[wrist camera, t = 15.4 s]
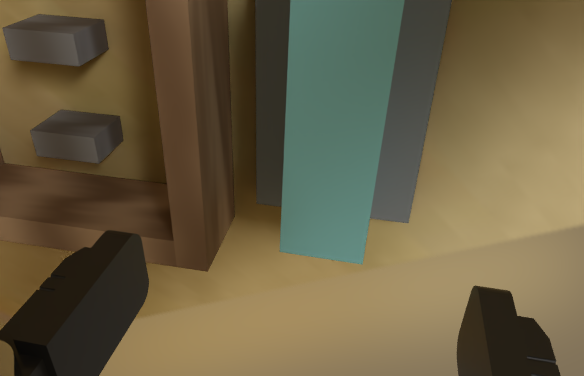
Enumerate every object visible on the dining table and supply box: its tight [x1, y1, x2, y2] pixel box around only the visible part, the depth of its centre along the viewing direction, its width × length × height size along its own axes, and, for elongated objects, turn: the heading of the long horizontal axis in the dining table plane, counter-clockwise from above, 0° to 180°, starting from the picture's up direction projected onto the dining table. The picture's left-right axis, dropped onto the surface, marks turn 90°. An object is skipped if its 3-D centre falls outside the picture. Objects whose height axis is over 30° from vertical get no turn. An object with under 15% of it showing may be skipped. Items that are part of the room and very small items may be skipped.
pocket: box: [0, 0, 235, 271], centre depth 25 cm, size 18×23×5 cm
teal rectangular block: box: [280, 0, 405, 264], centre depth 23 cm, size 4×14×5 cm, turn 177°
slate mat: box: [255, 0, 452, 223], centre depth 25 cm, size 9×17×1 cm, turn 178°
